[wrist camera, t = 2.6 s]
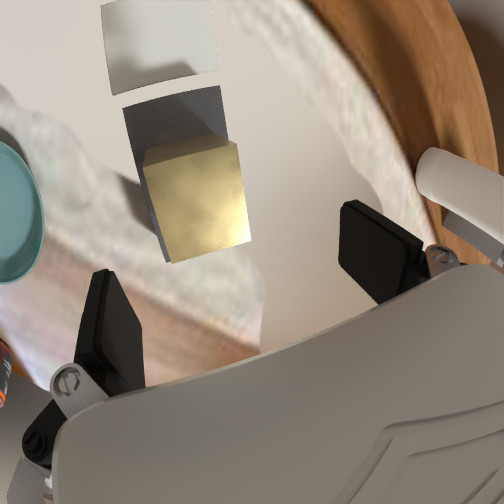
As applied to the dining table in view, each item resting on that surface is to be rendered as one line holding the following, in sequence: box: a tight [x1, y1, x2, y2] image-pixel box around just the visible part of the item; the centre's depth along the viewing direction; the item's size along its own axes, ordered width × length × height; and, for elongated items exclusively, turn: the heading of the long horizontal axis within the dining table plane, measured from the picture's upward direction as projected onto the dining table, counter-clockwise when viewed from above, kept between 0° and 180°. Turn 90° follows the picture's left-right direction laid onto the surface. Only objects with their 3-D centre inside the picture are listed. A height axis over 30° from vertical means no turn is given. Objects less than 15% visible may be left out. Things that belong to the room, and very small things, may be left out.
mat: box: [101, 0, 220, 96], centre depth 16 cm, size 9×9×1 cm
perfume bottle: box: [442, 210, 504, 267], centre depth 34 cm, size 7×7×18 cm
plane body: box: [122, 86, 228, 263], centre depth 21 cm, size 13×7×4 cm, turn 8°
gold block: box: [143, 133, 251, 264], centre depth 17 cm, size 6×5×6 cm
